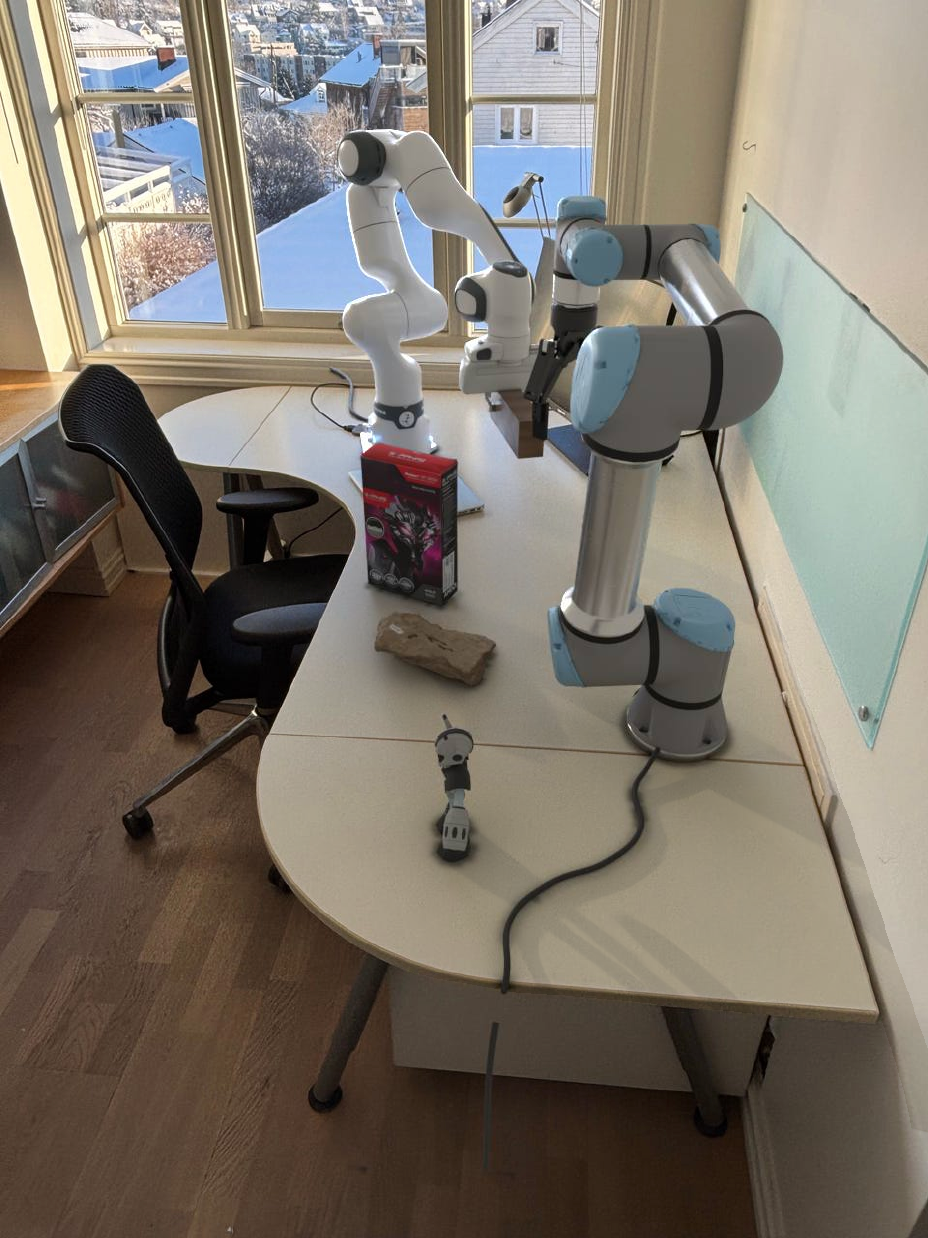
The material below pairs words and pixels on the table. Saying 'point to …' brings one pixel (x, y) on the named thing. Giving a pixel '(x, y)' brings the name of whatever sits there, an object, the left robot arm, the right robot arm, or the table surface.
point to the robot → (454, 790)
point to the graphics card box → (411, 521)
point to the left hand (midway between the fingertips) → (506, 410)
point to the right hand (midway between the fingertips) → (565, 427)
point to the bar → (516, 423)
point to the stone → (434, 646)
